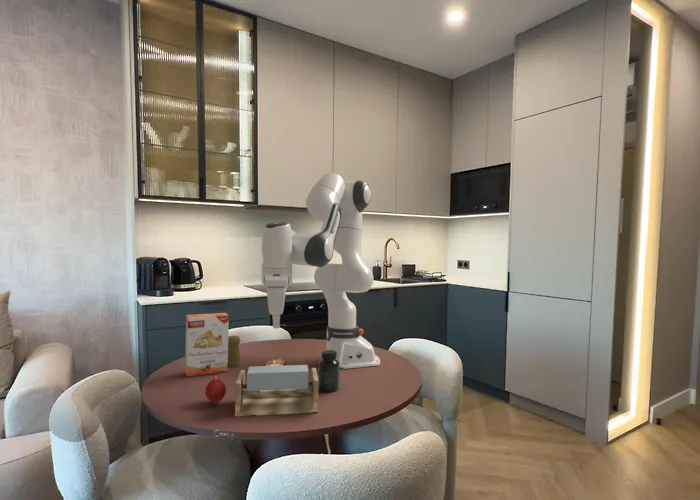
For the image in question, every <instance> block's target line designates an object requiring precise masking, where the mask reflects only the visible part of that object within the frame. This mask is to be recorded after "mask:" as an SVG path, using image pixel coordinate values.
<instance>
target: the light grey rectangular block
mask: <svg viewBox="0 0 700 500" xmlns="http://www.w3.org/2000/svg"><path fill="white" fill-rule="evenodd" d="M309 372H310V371H309V366H308V364H294V365H290V364H289V365H287V364H286V365H258V366H254V365H253V366H248V369H247V373H246V384H247V389H246V391H267V390H291V389H308V388H309V386H308V382H309Z"/></svg>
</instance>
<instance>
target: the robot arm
mask: <svg viewBox="0 0 700 500" xmlns="http://www.w3.org/2000/svg"><path fill="white" fill-rule="evenodd" d="M371 195H372V191H371V187H370V185H369V184H368V182H366V181H363V180H359V179H358V180H348V179H347V180H346V179H345V180H344V178H343V177H341V175H340V174H337V173H335V172H329V173H325V174H324V175H322V177H320V178H319V179H318V181H316V183H315V184H314V185H313V187H312V188H311V190H310V191H309V192H308V194H307V197H306V200H305V206H306V209H307V212H308V213H309V214H310V215H311V217H312V218H314V219H315V220H317V221H320V222H322V226H321V229H320V231H318V232H315V233H297V232H296V231H294V230H292V227H291V223H290V222H287V221H275V222H269V223H267V224H266V225H264V228H263V230H262V236H261V239H262V240H261V255H262V263H261V284H263V285H264V287H265V289H266V296H267V304H268V305H267V308H268V313H269V315H272V316H271V317H272V328H273V329H279V328H280V323H281V315H283V313H284V309H285V299H286V291H287V290H288V287H289V285H291V284H293V265H297V266H311V267H316V269H315V271H314V274H313V279H314V284H315V285H316V286H317V287H318V288H319V289H320V291H321V292H322V294H323V295H324V298H325V300H326V304H327V310H328V311H327V315H328V316H327V317H328V323H327V324H328V325H327V327H326V341H327V343H326V350H333V351H336V352H337V358H336V359H337V360H338V361H339V364H340V368H339V369H342V370H343V369H345V370H346V369H355V368H357V369H358V368H368V367H375V366H376V367H377V366H380V365H381V359H380V357H379V356H378V355H376V353H375V350H374V347H373V345H372V344H371V342H369V341H368V340H367V339H366V338H364V337H363V336H362V335H363V334H364V330H363V328H361V327H359V326H358V325H357V308H356V307H357V306H356V305H355V304H354V303H353V302H352V301H350V300H349V298H348V295H347V293H352V294H358V293H360V294H361V293H366V292H368V291H369V290H371V288H372V286H373V284H374V275H373V272H372V270H371V269H370V268H369V267H368V266H367V264H366V263H365V260H364V259H363V255H362V233H363V212H364V211H365V209H366V208H367V207H368V205H369V204H370V202H371V198H372V196H371ZM334 251H335V252H336V253H337V254H338V255H340V257H341V263H331V262H330V261H332V259H333V256H334V253H335V252H334Z"/></svg>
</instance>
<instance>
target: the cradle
mask: <svg viewBox="0 0 700 500" xmlns="http://www.w3.org/2000/svg"><path fill="white" fill-rule="evenodd" d="M317 372H318V371H317V368H316V367H312V368H311V381H308V389H291V390H267V391H247V383H245V374H246V373H245V369H243V370H242V369H241V370H240V371H239V373H238V377H237V378H236V381H235V392H234V393H235V394H234V395H235V399H234V400H235V404H234V406H235V407H234V409H235V410H234V411H235V412H234V417H249V415H256V416H273V415H275V416H276V415H293V414H295V415H296V414H313V412H319V388H318V374H317ZM246 415H247V416H246Z"/></svg>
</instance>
